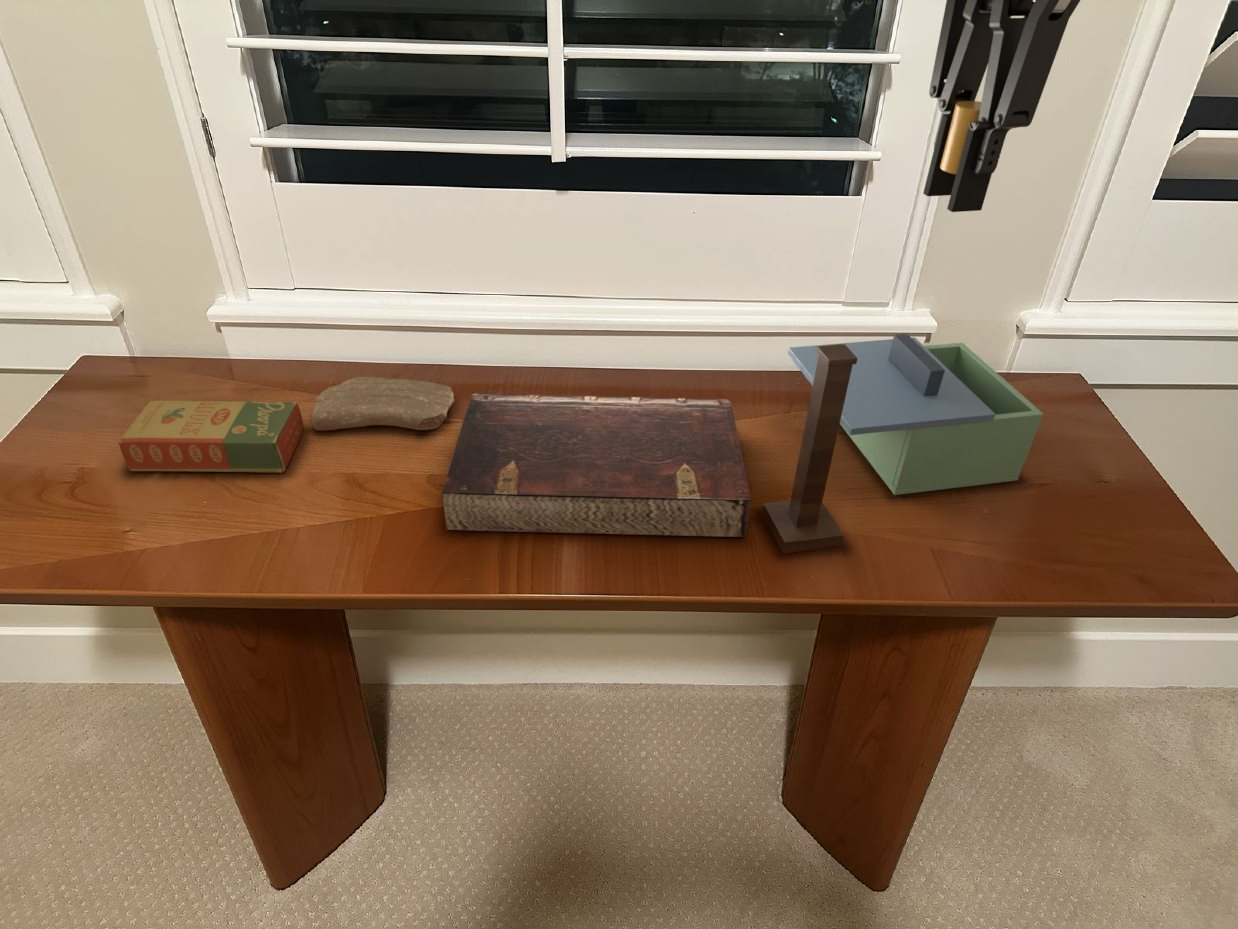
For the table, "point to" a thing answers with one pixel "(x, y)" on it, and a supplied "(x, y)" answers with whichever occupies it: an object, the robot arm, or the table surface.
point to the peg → (959, 134)
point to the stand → (814, 461)
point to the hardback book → (598, 466)
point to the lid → (898, 387)
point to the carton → (213, 436)
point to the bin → (958, 436)
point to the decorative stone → (382, 404)
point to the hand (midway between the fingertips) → (951, 201)
